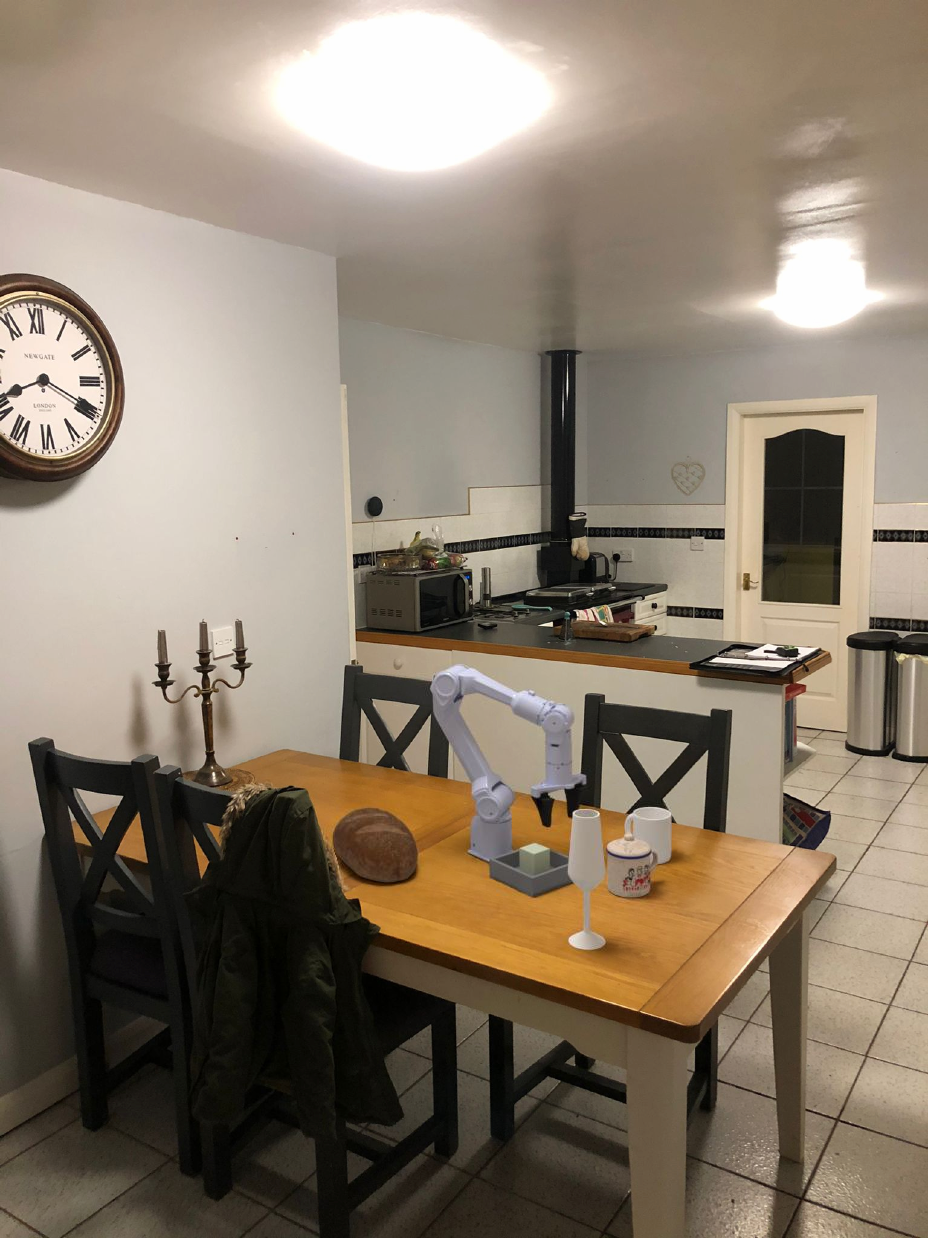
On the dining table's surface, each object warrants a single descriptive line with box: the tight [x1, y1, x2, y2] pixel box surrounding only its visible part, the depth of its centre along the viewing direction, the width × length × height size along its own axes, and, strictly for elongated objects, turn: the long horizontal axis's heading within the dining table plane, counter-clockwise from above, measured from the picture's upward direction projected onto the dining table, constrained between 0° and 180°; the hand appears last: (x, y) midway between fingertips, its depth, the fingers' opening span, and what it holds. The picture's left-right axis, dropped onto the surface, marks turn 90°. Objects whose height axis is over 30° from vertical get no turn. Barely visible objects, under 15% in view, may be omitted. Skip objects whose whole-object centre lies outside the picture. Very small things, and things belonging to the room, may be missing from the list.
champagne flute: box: [568, 808, 606, 951], centre depth 171 cm, size 7×7×24 cm
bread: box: [332, 807, 419, 884], centre depth 212 cm, size 16×29×11 cm, turn 26°
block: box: [518, 842, 551, 876], centre depth 200 cm, size 4×4×6 cm
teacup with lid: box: [605, 833, 658, 899], centre depth 194 cm, size 12×9×12 cm
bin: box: [488, 848, 574, 898], centre depth 201 cm, size 14×14×4 cm
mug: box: [624, 806, 672, 865], centre depth 211 cm, size 12×8×10 cm
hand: (559, 822), depth 207 cm, fingers open, 7 cm apart
